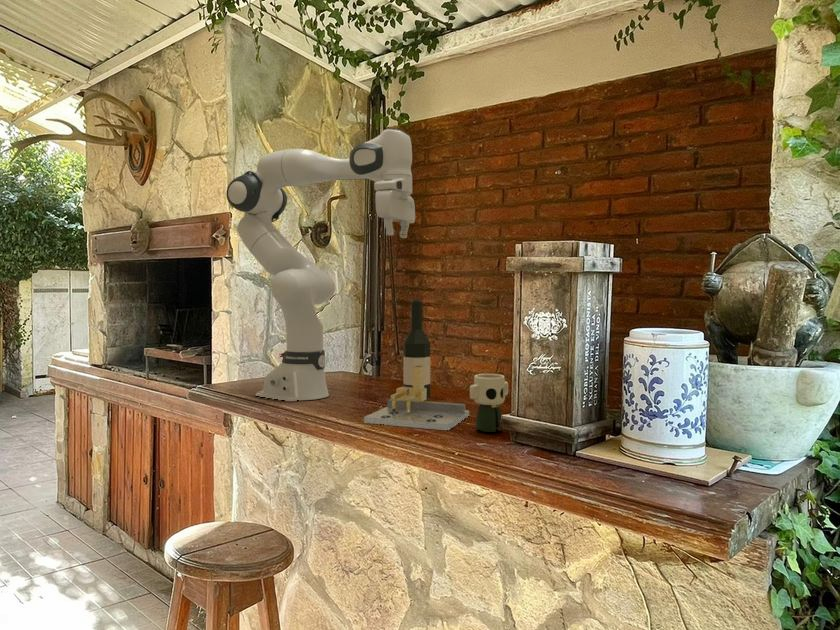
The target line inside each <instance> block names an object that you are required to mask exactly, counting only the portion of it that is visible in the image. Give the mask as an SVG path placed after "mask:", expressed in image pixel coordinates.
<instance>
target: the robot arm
mask: <svg viewBox="0 0 840 630" xmlns="http://www.w3.org/2000/svg"><path fill="white" fill-rule="evenodd" d="M412 164H413V146H412V140H411V136H410V135H409V134H408V133H406V132H405V131H403V130H400V129H396V128H387V129H384V130H382V132H381V133H380V134H379V135H377V136H376V137H374V138H371V139H370V140H367V141H366V142H361V143H358V144H357V145H355V146H354V147H353V148H352V149H351V152H350V154H349V158H337V157H332V156H328V155H326V154H322V153H320V152H317V151H314V150H310V149H305V148H287V149H286V148H285V149H282V150H281V149H280V150H276V151H272V152H269V153H266V154H263V156H262V155H261V157H260V158H259V160H258V163H257V169H256V171H252V170H248V171H245V172H244V173H243V174H242V175H238V176H237V177H235V178H233V179H232V180H231V181H230V182H229V184H228V185H227V188H226V191H225V192H226V200H227V202H228V203H229V205H230V206H231V207H232V208H234V209H235V210H237V211H238V212H242V213H244V215H243V217H241V219H240V220H239V221H238V224H237V226H236V231H237V234H238V235H239V237H240V239H241V241H242V243H243V245H244V246H245V247H246V248H247V249H248V251H249V252H250V254H251V255H252V256H253V257H254V258H255V260H256V261H257V262H258V263H259V264H260V266H261V267H262V268H263V269H264V270H265V271H266V273H268V274H269V275H271V276H273V278H272V280H271V282H270V283H271V284H270V292H271V294H272V296H273V298H274V300H275V301H276V302H277V303H278V304H279V307H280V308H281V312H282V315H283V318H284V322H285V333H286V351H283V352H282V353H279V354H278V355H279V357H278V358H282V359H281V363H280V364H278V366H276V367H275V368H274V369H273V370H271V371H270V372H269V373H268V374H266V376H265V377H264V381H263V387H262V390H259V391H258V392H257V391H256V393H255V395H256V396H260V397H266V398H265V399H267V398H272V399H271V400H274V399H278V400H277V401H281V400H285V401H284V402H297V400H299V401H310V400H318V399H324V398H327V397H329V396H330V393H329V390H328V387H327V386H328V385H327V382H326V381H327V380H326V375H325V374H326V373H325V366H326V353H325V352H326V350H325V349H324V325H323V323H322V322H321V320H320V318H319V317H318V315H317V310H316V306H315V305H321V304H323V303H326V302H328V301H329V300H331V298H333V296H334V294H335V291H336V284H335V280H334V279H333V277H332V276H331V275H330V274H328V273H327V272H325V271H323V270H321V269H320V268H319V267H318V266H317V265H316V264H314V263H313V262H312V261H311V260H309V259H308V258H307V257H305V256H304V255H303V254H301V252H300V251H298V250H297V249H296V248H295V247H294V246H293V245H292V244H291V243H290V242H289V240H288V239H287V238H286V237H285V236H284V235H283V234H282V233H281V232H280V231H279V229H277V227H276V226H275V225H274V224H273V223H275V222H277V220H278V219H279V217H280V216H281V215H282V214H283V213H284V211H285V209H286V207H287V205H288V195H287V193H286V191H285V190H284V188H286V187H299V186H306V185H307V186H308V185H314V184H319V183H325V182H332V181H344V180H345V181H346V180H347V181H349V180H350V181H351V180H353V181H354V180H369V181H372V182H374V185H373V188H374V191H376V192H375V196H374V197H375V199H374V200H375V211H376V215H377V217H379V218H381V219H383V223H384V227H385V235H386V236H394V235H395V228H394V227H393V223H394V222H398V223H400V227H401V228H400V231H399V237H400V238H402V239H406V238H407V237H408V230H409V229H410V228H409V227H410V224H414V223H415V221H416V205H415V200H414V198H413V197H412V196H411V195H413V174H412ZM260 397H259V398H260Z"/></svg>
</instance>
